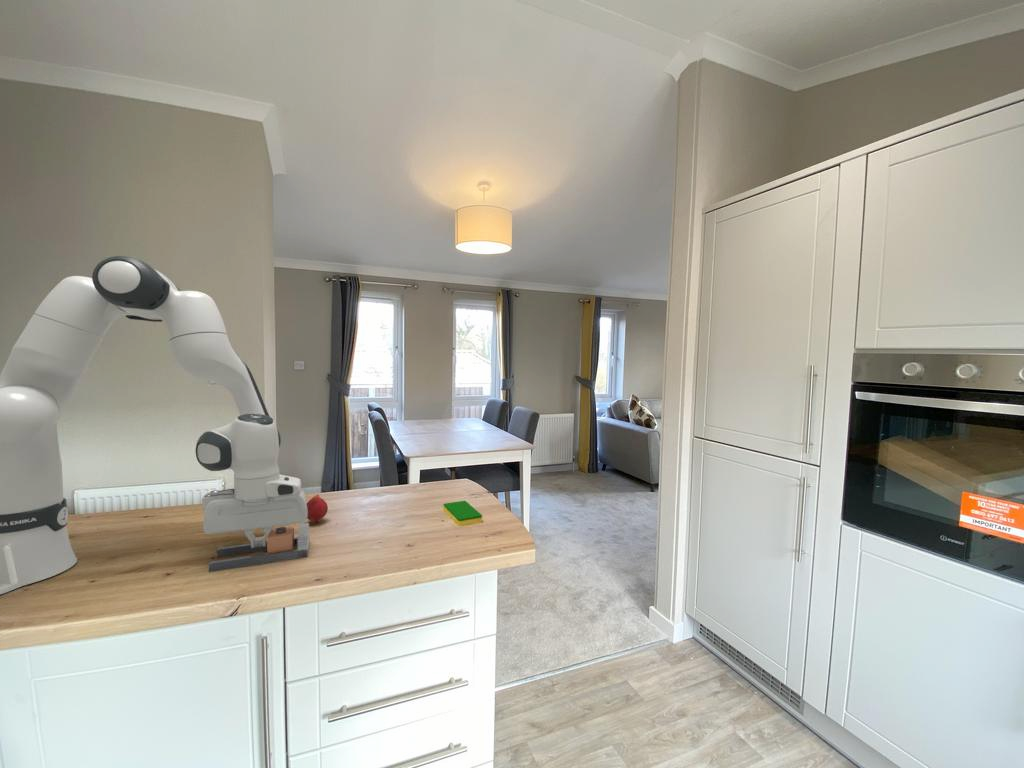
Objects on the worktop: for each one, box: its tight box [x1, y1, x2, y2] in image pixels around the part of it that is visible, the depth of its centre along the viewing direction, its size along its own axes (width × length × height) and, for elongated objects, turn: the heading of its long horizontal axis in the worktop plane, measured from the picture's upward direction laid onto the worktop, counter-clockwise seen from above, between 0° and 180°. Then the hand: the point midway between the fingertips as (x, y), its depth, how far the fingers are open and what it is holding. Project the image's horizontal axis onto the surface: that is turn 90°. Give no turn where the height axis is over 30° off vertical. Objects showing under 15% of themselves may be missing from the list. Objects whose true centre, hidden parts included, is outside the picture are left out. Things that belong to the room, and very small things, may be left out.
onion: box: [306, 493, 329, 524], centre depth 116 cm, size 6×6×8 cm
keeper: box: [266, 526, 295, 553], centre depth 98 cm, size 5×5×6 cm
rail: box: [208, 522, 310, 573], centre depth 96 cm, size 19×8×5 cm, turn 113°
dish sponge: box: [442, 500, 483, 527], centre depth 123 cm, size 7×14×2 cm, turn 27°
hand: (258, 546), depth 96 cm, fingers closed
